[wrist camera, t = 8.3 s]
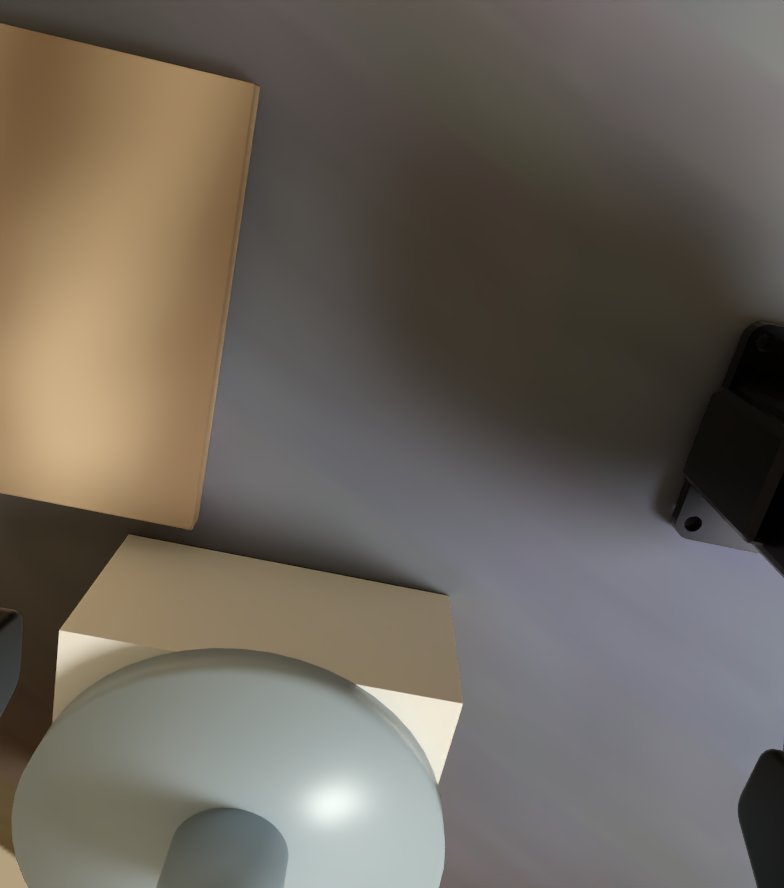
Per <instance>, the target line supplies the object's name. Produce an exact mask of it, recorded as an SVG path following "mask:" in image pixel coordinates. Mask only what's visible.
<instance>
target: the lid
mask: <svg viewBox="0 0 784 888" xmlns="http://www.w3.org/2000/svg"><path fill="white" fill-rule="evenodd" d="M12 840H13V845H14V850H15V854H16V859H17V862H18V865H19V867H20V870H21V872H22V875H23V878H24V880H25V882H26V884H27V885H28V887H29V888H439V885H440V881H441V876H442V872H443V868H444V855H445V839H444V826H443V813H442V804H441V795H440V791H439V787H438V784H437V780H436V777H435V773H434V771H433V769H432V767H431V765H430V762H429V760H428V758H427V756H426V754H425V752H424V750H423V749H422V747H421V746H420V744H419V743H418V741H417V740H416V738H415V737H414V736H413V734H412V733H411V731H410V730H409V729H408V728H407V727H406V726H405V725H404V724H403V723H402V721H401V720H400V719H399V718H398V717H397V716H396V715H395V714H394V713H393V712H392V711H391V710H390V709H388V708H387V707H386V706H385V705H384V704H383V703H381V702H380V701H379V700H378V699H377V698H375V697H374V696H373V695H371V694H370V693H368V692H367V691H365V690H363V689H362V688H360V687H359V686H357V685H356V684H354V683H353V682H351V681H349V680H347V679H345V678H343V677H341V676H339V675H337V674H335V673H333V672H331V671H329V670H327V669H324V668H322V667H319V666H316V665H313V664H310V663H308V662H305V661H302V660H299V659H295V658H291V657H287V656H283V655H279V654H275V653H271V652H263V651H255V650H248V649H235V648H206V649H195V650H184V651H178V652H174V653H169V654H164V655H159V656H155V657H151V658H148V659H145V660H143V661H140V662H137V663H134V664H131V665H128V666H126V667H124V668H122V669H120V670H118V671H116V672H114V673H112V674H109V675H107V676H105V677H104V678H102V679H101V680H99V681H98V682H96V683H95V684H93V685H92V686H90V687H89V688H87V689H86V690H84V691H83V692H82V693H81V694H80V695H78V696H77V697H76V698H75V699H74V700H73V701H72V702H71V703H70V704H69V705H67V706H66V707H65V708H64V710H63V711H62V712H61V713H60V715H59V716H58V717H57V718H56V720H55V721H54V722H53V723H52V725H51V726H50V728H49V729H48V731H47V733H46V734H45V736H44V737H43V739H42V741H41V742H40V744H39V746H38V747H37V749H36V750H35V752H34V754H33V755H32V757H31V759H30V761H29V763H28V764H27V766H26V768H25V770H24V772H23V773H22V776H21V779H20V781H19V784H18V787H17V790H16V793H15V797H14V804H13V810H12Z"/></svg>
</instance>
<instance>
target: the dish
mask: <svg viewBox="0 0 784 888" xmlns="http://www.w3.org/2000/svg"><path fill="white" fill-rule="evenodd" d="M206 648H235V649H248V650H255V651H263V652H271V653H275V654H279V655H283V656H287V657H291V658H295V659H299V660H302V661H305V662H308V663H310V664H313V665H316V666H319V667H322V668H324V669H327V670H329V671H331V672H333V673H335V674H337V675H339V676H341V677H343V678H345V679H347V680H349V681H351V682H353V683H354V684H356V685H357V686H359V687H360V688H362V689H363V690H365V691H367V692H368V693H370V694H371V695H373V696H374V697H375V698H377V699H378V700H379V701H380V702H381V703H383V704H384V705H385V706H386V707H387V708H388V709H390V710H391V711H392V712H393V713H394V714H395V715H396V716H397V717H398V718H399V719H400V720H401V721H402V723H403V724H404V725H405V726H406V727H407V728H408V729H409V730H410V731H411V733H412V734H413V736H414V737H415V738H416V740H417V741H418V743H419V744H420V746H421V747H422V749H423V750H424V752H425V754H426V756H427V758H428V760H429V762H430V765H431V767H432V769H433V771H434V773H435V777H436V780H437V784H438V783H439V779H440V776H441V773H442V770H443V767H444V763H445V760H446V757H447V754H448V750H449V747H450V744H451V741H452V737H453V734H454V731H455V728H456V725H457V721H458V718H459V715H460V712H461V708H462V705H463V700H462V692H461V685H460V677H459V669H458V662H457V654H456V646H455V638H454V631H453V623H452V615H451V608H450V600H449V596H447V595H442V594H436V593H431V592H426V591H421V590H416V589H410V588H405V587H400V586H395V585H390V584H384V583H379V582H374V581H369V580H364V579H358V578H353V577H348V576H343V575H338V574H333V573H327V572H322V571H317V570H312V569H307V568H301V567H296V566H291V565H286V564H281V563H275V562H270V561H265V560H260V559H255V558H249V557H244V556H239V555H234V554H229V553H224V552H218V551H213V550H208V549H203V548H198V547H192V546H187V545H182V544H177V543H172V542H166V541H161V540H156V539H151V538H146V537H141V536H135V535H130V534H129V535H128V536H127V537H126V539H125V540H124V541H123V543H122V544H121V546H120V547H119V548H118V550H117V551H116V553H115V554H114V555H113V557H112V558H111V559H110V561H109V562H108V564H107V565H106V566H105V568H104V569H103V570H102V572H101V573H100V575H99V576H98V577H97V579H96V580H95V582H94V583H93V584H92V586H91V587H90V588H89V590H88V591H87V593H86V594H85V595H84V597H83V598H82V599H81V601H80V602H79V604H78V605H77V606H76V608H75V609H74V611H73V612H72V613H71V615H70V616H69V617H68V619H67V620H66V622H65V623H64V624H63V626H62V627H61V628H60V630H59V640H58V653H57V666H56V680H55V693H54V706H53V719H52V723H53V722H54V721H55V720H56V718H57V717H58V716H59V715H60V713H61V712H62V711H63V710H64V708H65V707H66V706H67V705H69V704H70V703H71V702H72V701H73V700H74V699H75V698H76V697H77V696H78V695H80V694H81V693H82V692H83V691H84V690H86V689H87V688H89V687H90V686H92V685H93V684H95V683H96V682H98V681H99V680H101V679H102V678H104V677H105V676H107V675H109V674H112V673H114V672H116V671H118V670H120V669H122V668H124V667H126V666H128V665H131V664H134V663H137V662H140V661H143V660H145V659H148V658H151V657H155V656H159V655H164V654H169V653H174V652H178V651H184V650H195V649H206Z"/></svg>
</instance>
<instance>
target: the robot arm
mask: <svg viewBox="0 0 784 888" xmlns="http://www.w3.org/2000/svg"><path fill="white" fill-rule="evenodd" d="M763 334H767V335H768V342H767V344H766V345H765V346H764V347H762V348H760V349H757V347H756V342H757V339H758V338H759V337H760V336H761V335H763ZM683 472H684V474H685V476H686V480H685V483H684V485H683V488H682V491H681V493H680V496H679V498H678V501H677V503H676V506H675V509H674V511H673V514H672V519H671V522H672V525H673V527H674V528H675V530H676V531H677V532H678V533H679V534H680V535H681V536H682V537H684V538H686V539H690V540H695V541H700V542H705V543H710V544H715V545H720V546H725V547H730V548H735V549H740V550H744V551H749V552H754V553H759V554H762V555H763V556H764V557H765V559H766V560H767V561H768V562H769V563H770V564H771V565H772V566H773V567H774V568H775V569H776V570H777V571H778V572H779V573H780V574H781V575H782V576H783V577H784V326H782V325H778V324H774V323H769V322H756V323H754V324H751V325H750V326H749V327H748V328H746V329H745V331H744V332H743V334H742V336H741V338H740V341H739V344H738V346H737V349H736V351H735V354H734V356H733V359H732V362H731V364H730V367H729V369H728V372H727V374H726V377H725V380H724V382H723V385H722V387H721V388H720V389H719V390H717V391H716V392H715V393H713V395H712V397H711V399H710V402H709V405H708V407H707V410H706V412H705V415H704V418H703V420H702V423H701V425H700V428H699V431H698V433H697V436H696V438H695V441H694V444H693V446H692V449H691V451H690V454H689V457H688V459H687V462H686V464H685V467H684V470H683ZM691 516H697V519H696V521H695V522H694V523H693V524H691V525H687V526H685V521H686V520H687V518H689V517H691ZM22 630H23V620H22V616H21V614H20V613H19V612H18V611H16V610H12V609H7V608H1V607H0V717H1V715H2V713H3V712H4V710H5V708H6V706H7V704H8V702H9V700H10V698H11V696H12V694H13V692H14V690H15V688H16V685H17V682H18V679H19V674H20V666H21V648H22ZM738 817H739V822H740V826H741V830H742V833H743V837H744V841H745V844H746V848H747V851H748V855H749V859H750V862H751V866H752V870H753V873H754V877H755V880H756V884H757V888H784V746H783V751H781V750H776V749H770V750H766V751H765V752H764V753H762V754H761V756H760V757H759V759H758V761H757V763H756V765H755V767H754V769H753V771H752V773H751V775H750V777H749V779H748V781H747V784H746V786H745V788H744V790H743V792H742V794H741V796H740V798H739V803H738Z"/></svg>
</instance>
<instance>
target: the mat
mask: <svg viewBox="0 0 784 888" xmlns="http://www.w3.org/2000/svg"><path fill="white" fill-rule="evenodd" d="M259 93H260V87H259V86H257V85H255V84H252V83H248V82H244V81H240V80H236V79H232V78H227V77H223V76H219V75H215V74H211V73H207V72H202V71H198V70H194V69H190V68H186V67H181V66H177V65H173V64H169V63H165V62H161V61H156V60H152V59H148V58H144V57H140V56H136V55H131V54H127V53H123V52H119V51H115V50H111V49H106V48H102V47H98V46H94V45H90V44H85V43H81V42H77V41H73V40H69V39H65V38H60V37H56V36H52V35H48V34H44V33H40V32H35V31H31V30H27V29H23V28H19V27H15V26H10V25H6V24H2V23H0V493H3V494H8V495H14V496H19V497H24V498H29V499H34V500H39V501H44V502H50V503H55V504H60V505H65V506H70V507H75V508H80V509H86V510H91V511H96V512H101V513H106V514H111V515H116V516H122V517H127V518H132V519H137V520H142V521H147V522H153V523H158V524H163V525H168V526H173V527H178V528H183V529H189V530H192V529H193V527H194V525H195V523H196V522H197V520H198V518H199V511H200V504H201V497H202V490H203V484H204V477H205V470H206V463H207V456H208V449H209V442H210V435H211V428H212V421H213V414H214V407H215V400H216V393H217V386H218V379H219V372H220V365H221V358H222V351H223V344H224V337H225V330H226V323H227V316H228V309H229V302H230V295H231V288H232V281H233V274H234V267H235V260H236V253H237V246H238V239H239V232H240V225H241V218H242V211H243V204H244V197H245V190H246V183H247V176H248V169H249V162H250V155H251V148H252V141H253V134H254V127H255V120H256V113H257V107H258V100H259Z"/></svg>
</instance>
